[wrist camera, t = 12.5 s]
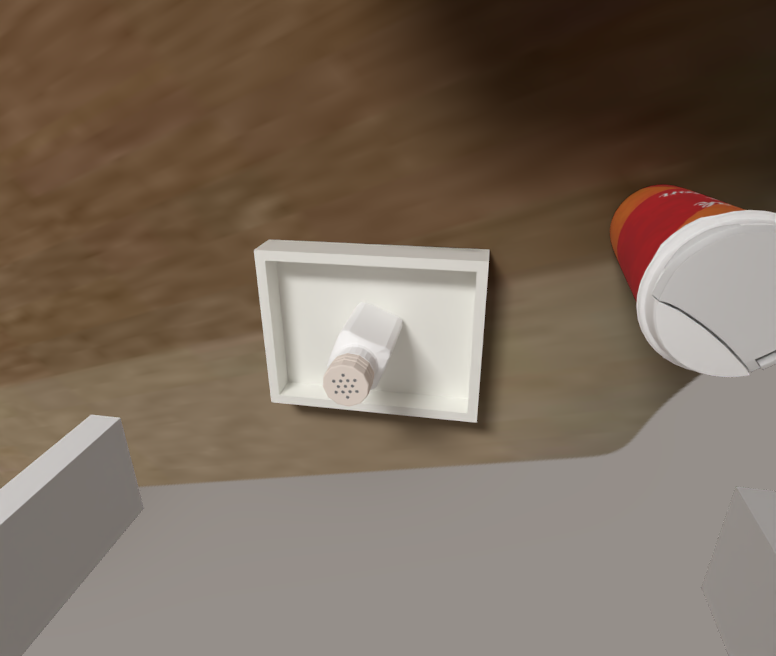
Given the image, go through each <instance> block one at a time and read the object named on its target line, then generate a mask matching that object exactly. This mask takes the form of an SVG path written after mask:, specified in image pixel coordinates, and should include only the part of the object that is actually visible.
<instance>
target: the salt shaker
mask: <svg viewBox="0 0 776 656" xmlns="http://www.w3.org/2000/svg"><path fill="white" fill-rule="evenodd" d="M401 328H402V319H400V318H399V317H398V316H396V315H393V314H391V313H389V312H386V311H384V310H382V309H380V308H377V307H375V306H373V305H371V304H368V303H365V302H360V303H359V304H358V305H357V306H356V308H355V309H354V311H353V313H352V314H351V316H350V317H349V319H348V320H347V322H346V324H345V325H344V327H343V328H342V330H341V332H340V333H339V335H338V338H337V340H336V342H335V345H334V347H333V350H332V352H331V355H330V358H329V361H328V363H327V368H328V369H327V371H326V373H325V374H324V376H323V388H324V390H325V392H326V394H327V396H328V397H329V398H330V399H332V400H333V401H334V402H336V403H337V404H340V405H345V406H353V405H357V404H360V403H362V401H363V400H364V399H365V398H366V397H367V396H368V394H369V392H370V390H373V389H374V388H376V387H377V385H378V383H379V381H380V379H381V376H382V374H383V372H384V370H385V368H386V365H387V363H388V361H389V359H390V356H391V354H392V351H393V349H394V346H395V344H396V341H397V339H398V336H399V333H400V331H401Z"/></svg>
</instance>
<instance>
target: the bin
mask: <svg viewBox="0 0 776 656" xmlns="http://www.w3.org/2000/svg"><path fill="white" fill-rule="evenodd" d="M254 256H255V264H256V273H257V282H258V290H259V299H260V308H261V316H262V325H263V333H264V342H265V351H266V359H267V368H268V377H269V385H270V394H271V402H275V403H285V404H295V405H305V406H315V407H325V408H335V409H345V410H355V411H365V412H375V413H385V414H395V415H405V416H415V417H425V418H435V419H445V420H455V421H465V422H475V423H477V413H478V399H479V386H480V373H481V360H482V347H483V334H484V320H485V307H486V294H487V281H488V268H489V250H488V249H466V248H444V247H421V246H399V245H377V244H355V243H333V242H311V241H289V240H268V241H266V242H265V243H263V244H262V245H260V246H259V247H258V248H256V249H255V250H254ZM360 302H365V303H368V304H371V305H373V306H375V307H377V308H380V309H382V310H384V311H386V312H389V313H391V314H393V315H396V316H398V317H399V318H400V319H402V328H401V331H400V333H399V336H398V339H397V341H396V344H395V346H394V349H393V351H392V354H391V356H390V359H389V361H388V363H387V365H386V368H385V370H384V372H383V374H382V376H381V379H380V381H379V383H378V385H377V387H376V388H374V389H373V390H370V392H369V394H368V396H367V397H366V398H365V399H364V400H363V401H362V403H360V404H357V405H353V406H345V405H340V404H337V403H336V402H334V401H333V400H332V399H330V398H329V397H328V396H327V394H326V392H325V390H324V388H323V376H324V374H325V373H326V371H327V369H328V368H327V363H328V361H329V358H330V355H331V352H332V350H333V347H334V345H335V342H336V340H337V338H338V335H339V333H340V332H341V330H342V328H343V327H344V325H345V324H346V322H347V320H348V319H349V317H350V316H351V314H352V313H353V311H354V309H355V308H356V306H357V305H358V304H359V303H360Z"/></svg>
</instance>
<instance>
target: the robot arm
mask: <svg viewBox="0 0 776 656" xmlns="http://www.w3.org/2000/svg"><path fill="white" fill-rule="evenodd" d="M143 509H144V508H143V503H142V500H141V496H140V492H139V488H138V484H137V480H136V476H135V473H134V469H133V465H132V461H131V457H130V453H129V449H128V446H127V442H126V438H125V434H124V430H123V426H122V422H121V419H120V418H116V417H107V416H98V415H90V416H89V417H88V418H87V419H85V420H84V421H83V422H82V423H80V424H79V425H78V426H77V427H76V428H74V429H73V430H72V431H71V432H69V433H68V434H67V435H66V436H65V437H63V438H62V439H61V440H60V441H58V442H57V443H56V444H55V445H54V446H52V447H51V448H50V449H49V450H47V451H46V452H45V453H44V454H43V455H41V456H40V457H39V458H38V459H36V460H35V461H34V462H33V463H32V464H30V465H29V466H28V467H27V468H25V469H24V470H23V471H22V472H21V473H19V474H18V475H17V476H16V477H14V478H13V479H12V480H11V481H10V482H8V483H7V484H6V485H5V486H3V487H2V488H1V489H0V656H22V654H24V652H25V651H26V650H27V649H28V647H29V646H30V645H31V644H32V643H33V641H34V640H35V639H36V638H37V637H38V635H39V634H40V633H41V632H42V631H43V629H44V628H45V627H46V626H47V625H48V623H49V622H50V621H51V620H52V619H53V617H54V616H55V615H56V614H57V612H58V611H59V610H60V609H61V608H62V607H63V605H64V604H65V603H66V602H67V600H68V599H69V598H70V597H71V596H72V594H73V593H74V592H75V591H76V590H77V588H78V587H79V586H80V585H81V583H82V582H83V581H84V580H85V579H86V577H87V576H88V575H89V574H90V573H91V572H92V570H93V569H94V568H95V567H96V565H97V564H98V563H99V562H100V561H101V560H102V558H103V557H104V556H105V555H106V553H107V552H108V551H109V550H110V549H111V547H112V546H113V545H114V544H115V543H116V541H117V540H118V539H119V538H120V537H121V535H122V534H123V533H124V532H125V531H126V529H127V528H128V527H129V526H130V524H131V523H132V522H133V521H134V520H135V518H136V517H137V516H138V515H139V514H140V513H141V511H142V510H143ZM701 588H702V591H703V593H704V596H705V598H706V600H707V603H708V606H709V608H710V611H711V613H712V616H713V618H714V621H715V623H716V625H717V628H718V631H719V633H720V636H721V638H722V641H723V643H724V646H725V648H726V650H727V653H728V655H729V656H776V491H773V490H764V489H754V488H746V487H737V486H736V487H735V490H734V493H733V496H732V499H731V502H730V505H729V508H728V511H727V514H726V516H725V520H724V522H723V525H722V528H721V531H720V534H719V537H718V540H717V543H716V546H715V549H714V552H713V555H712V558H711V560H710V563H709V567H708V570H707V572H706V575H705V578H704V581H703V584H702V587H701Z"/></svg>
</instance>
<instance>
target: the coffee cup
mask: <svg viewBox="0 0 776 656" xmlns="http://www.w3.org/2000/svg"><path fill="white" fill-rule="evenodd" d="M610 239H611V243H612V247H613V250H614V252H615V255H616V257H617V260H618V262H619V264H620V267H621V269H622V271H623V273H624V276H625V278H626V280H627V282H628V285H629V287H630V289H631V291H632V293H633V296H634V298H635V300H636V302H637V304H636V309H637V317H638V322H639V325H640V328H641V331H642V332H643V334H644V336H645V338H646V340H647V341H648V343H649V344H650V345H651V346H652V347H653V349H654V350H655V351H656V352H658V353H659V354H660V355H661V356H662V357H663V358H665V359H667V360H668V361H670V362H672V363H673V364H675V365H678V366H680V367H683V368H685V369H688V370H693V371H696V372H698V373H702V374H706V375H710V376H718V377H741V376H749V375H750V374H749V373H748V372H749V371H750V372H753V371H755V370H757V369H760V368H762V369H763V370H764V369H766V368H768V367H771V366H773V365H775V364H776V213H773V212H768V211H759V210H744V209H741V208H739V207H736V206H733V205H730V204H728V203H725V202H722V201H719V200H716V199H714V198H711V197H708V196H705V195H702V194H699V193H697V192H694V191H691V190H688V189H684V188H681V187H677V186H672V185H653V186H649V187H645V188H643V189H640V190H638V191H636V192H635V193H633V194H632V195H630V196H629V197H628V198H626V199H625V200H624V201H623V202H622V203H621V205H620V206H619V207H618V209H617V210H616V212H615V214H614V216H613V218H612V222H611V226H610Z"/></svg>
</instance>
